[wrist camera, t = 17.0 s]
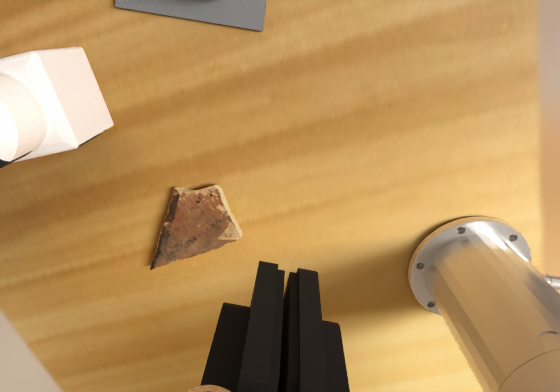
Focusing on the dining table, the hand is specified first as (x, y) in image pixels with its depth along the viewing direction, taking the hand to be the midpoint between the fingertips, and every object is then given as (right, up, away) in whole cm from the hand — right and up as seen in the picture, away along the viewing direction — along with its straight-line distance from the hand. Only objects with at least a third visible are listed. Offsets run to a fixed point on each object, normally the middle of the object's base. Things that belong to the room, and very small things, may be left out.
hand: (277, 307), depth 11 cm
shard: (-8, 0, +29) cm, 30 cm away
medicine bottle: (-19, +12, +23) cm, 33 cm away
